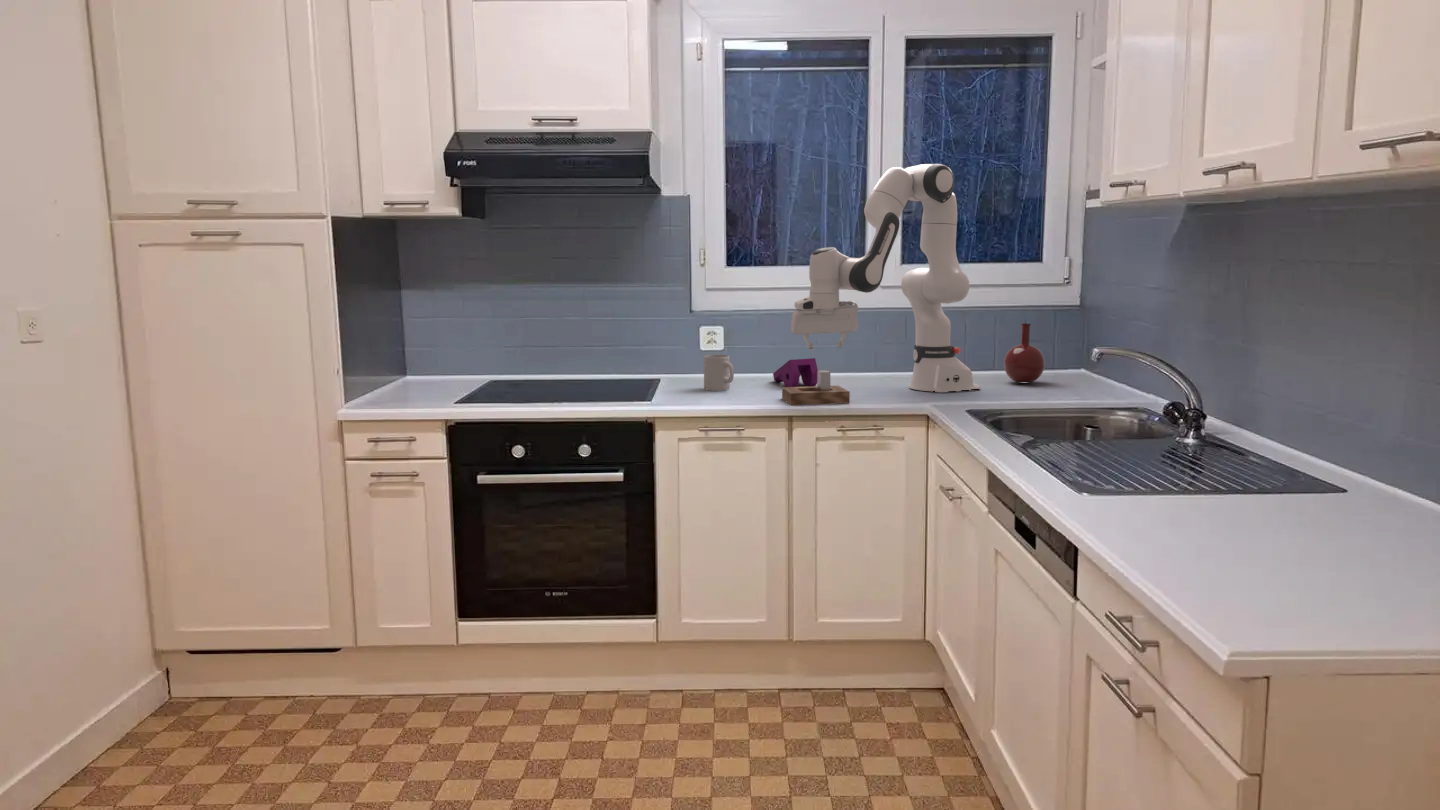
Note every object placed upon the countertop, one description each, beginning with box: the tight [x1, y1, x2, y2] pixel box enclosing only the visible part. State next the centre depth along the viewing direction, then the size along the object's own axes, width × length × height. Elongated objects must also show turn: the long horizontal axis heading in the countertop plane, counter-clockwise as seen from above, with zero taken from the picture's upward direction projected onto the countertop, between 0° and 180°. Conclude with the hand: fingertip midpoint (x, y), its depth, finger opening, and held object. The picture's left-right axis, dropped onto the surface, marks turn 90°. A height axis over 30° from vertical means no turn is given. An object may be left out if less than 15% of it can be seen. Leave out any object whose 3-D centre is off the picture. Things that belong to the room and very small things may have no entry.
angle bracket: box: [816, 369, 831, 391], centre depth 300 cm, size 8×4×9 cm, turn 99°
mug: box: [703, 354, 735, 391], centre depth 322 cm, size 12×8×11 cm
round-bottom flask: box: [1003, 323, 1046, 383], centre depth 329 cm, size 13×13×20 cm
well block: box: [781, 384, 851, 406], centre depth 300 cm, size 18×12×4 cm, turn 99°
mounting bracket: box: [772, 357, 819, 387], centre depth 332 cm, size 9×8×18 cm
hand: (825, 347), depth 298 cm, fingers open, 8 cm apart
